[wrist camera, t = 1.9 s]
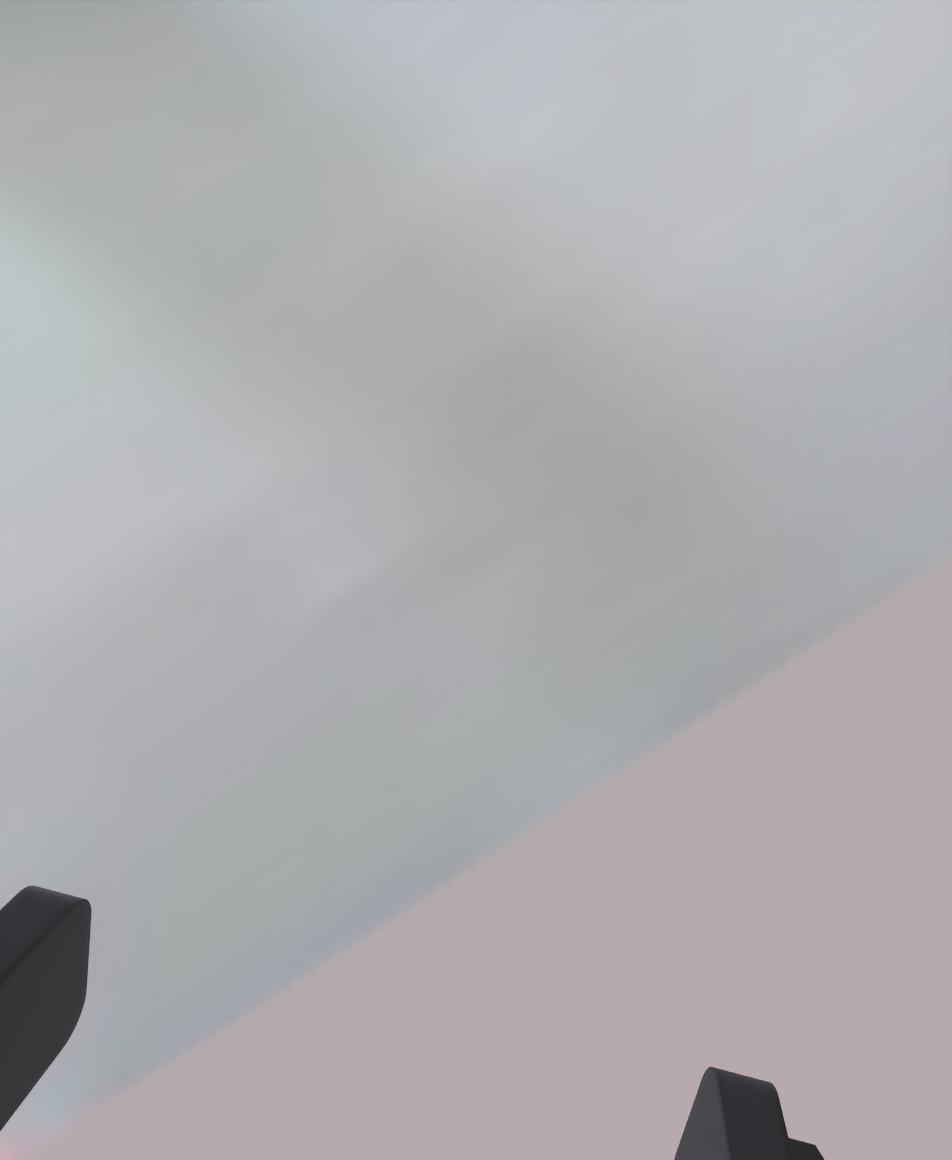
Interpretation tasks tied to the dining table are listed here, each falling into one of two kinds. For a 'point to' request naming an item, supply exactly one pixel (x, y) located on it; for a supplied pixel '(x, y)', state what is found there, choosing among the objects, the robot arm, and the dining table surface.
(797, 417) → the dining table surface
